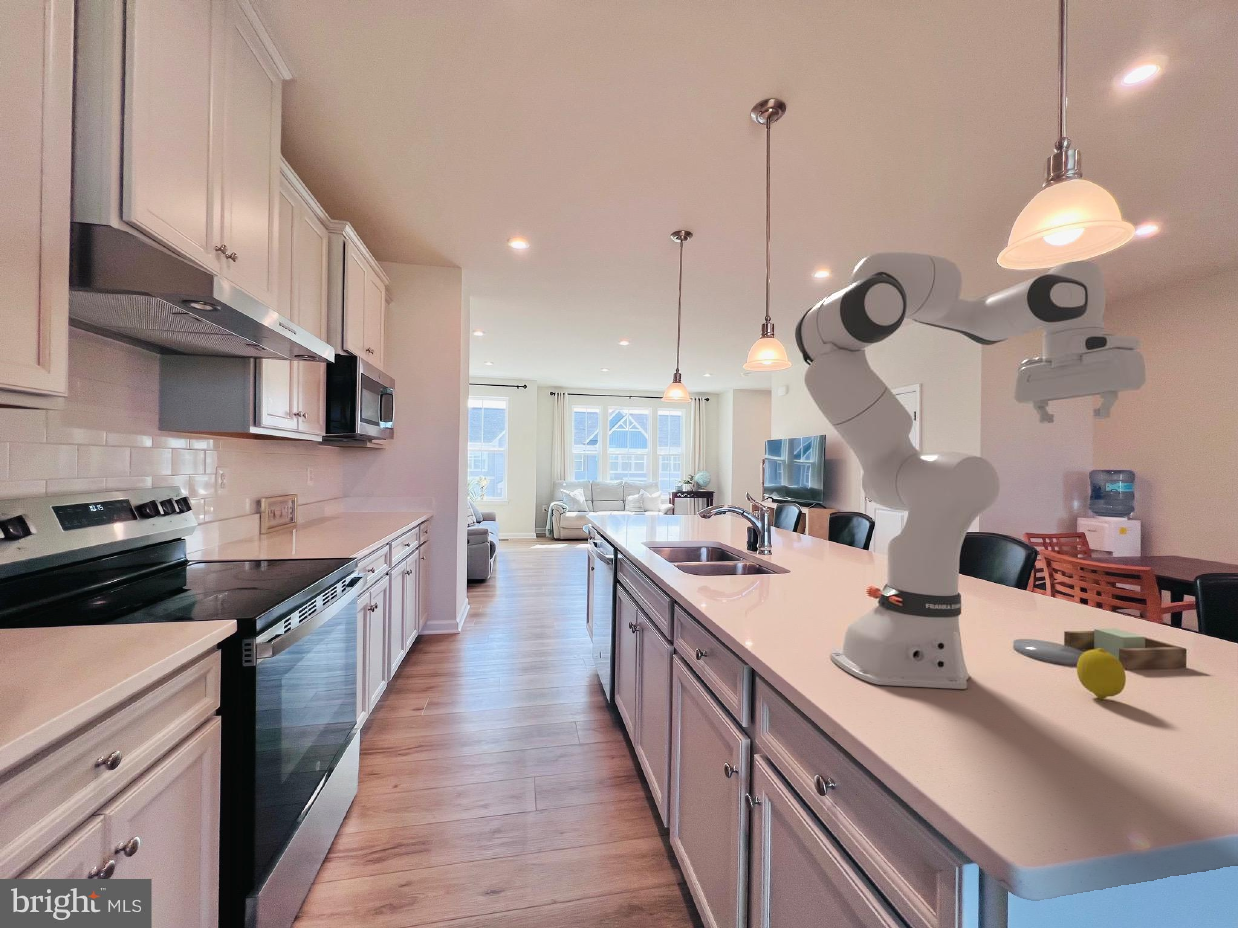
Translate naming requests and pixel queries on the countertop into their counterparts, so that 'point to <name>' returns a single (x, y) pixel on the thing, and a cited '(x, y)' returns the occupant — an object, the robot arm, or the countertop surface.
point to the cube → (1116, 640)
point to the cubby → (1134, 652)
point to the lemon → (1101, 673)
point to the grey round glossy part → (1047, 651)
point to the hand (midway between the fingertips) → (1072, 421)
